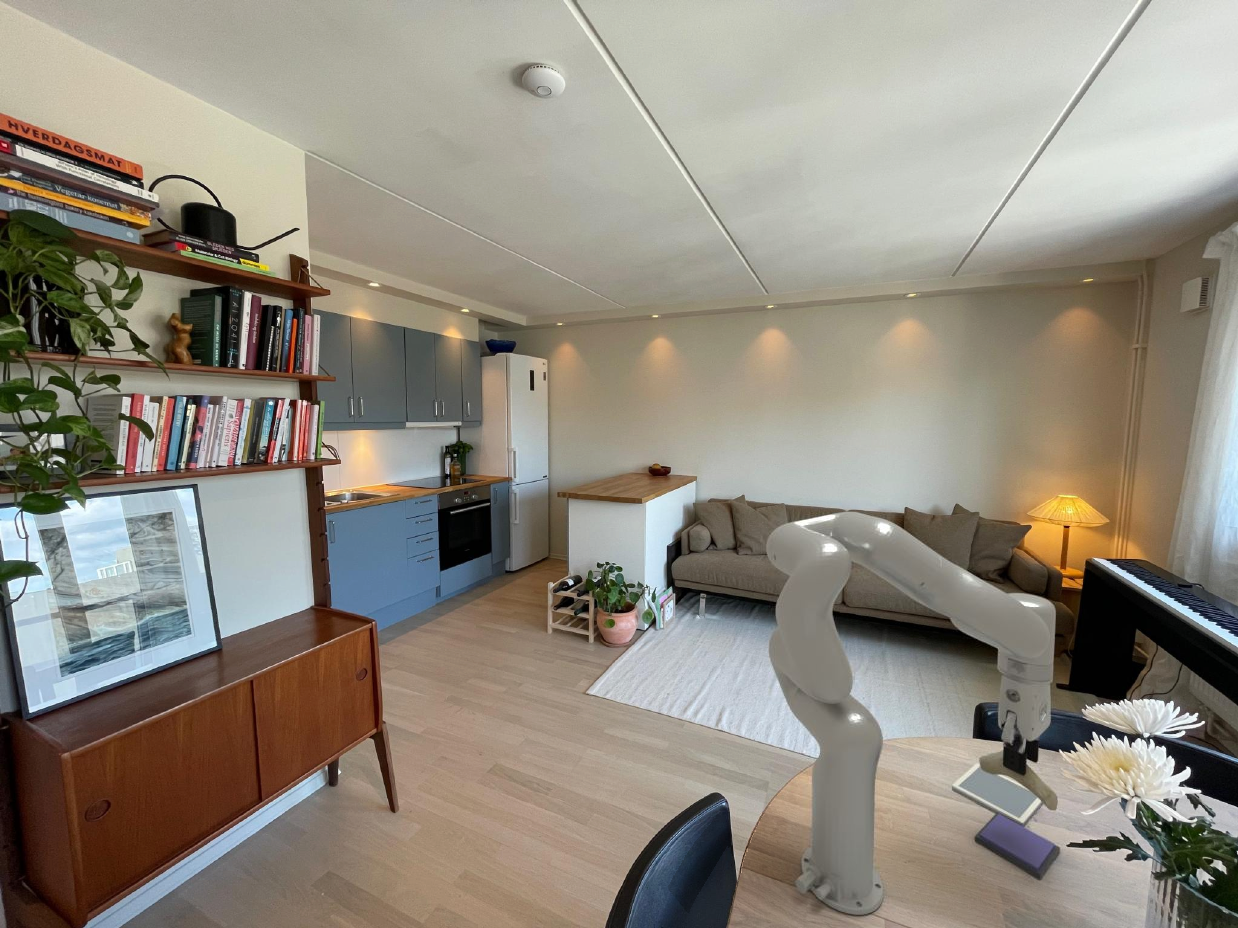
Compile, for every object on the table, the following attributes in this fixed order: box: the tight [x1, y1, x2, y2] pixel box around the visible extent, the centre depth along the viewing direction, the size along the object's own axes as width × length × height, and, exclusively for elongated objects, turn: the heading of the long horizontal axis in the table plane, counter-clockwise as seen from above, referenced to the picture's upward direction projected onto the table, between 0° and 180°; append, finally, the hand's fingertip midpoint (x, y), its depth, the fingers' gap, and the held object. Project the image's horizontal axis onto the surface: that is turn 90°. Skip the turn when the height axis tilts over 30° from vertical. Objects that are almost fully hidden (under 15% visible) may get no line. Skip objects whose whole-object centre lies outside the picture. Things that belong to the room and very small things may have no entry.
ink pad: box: [974, 813, 1061, 881], centre depth 89 cm, size 10×10×2 cm
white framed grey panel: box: [951, 762, 1044, 828], centre depth 101 cm, size 12×12×1 cm
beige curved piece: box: [978, 750, 1059, 811], centre depth 87 cm, size 11×6×5 cm, turn 23°
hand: (1020, 763), depth 88 cm, fingers closed on beige curved piece, 4 cm apart
